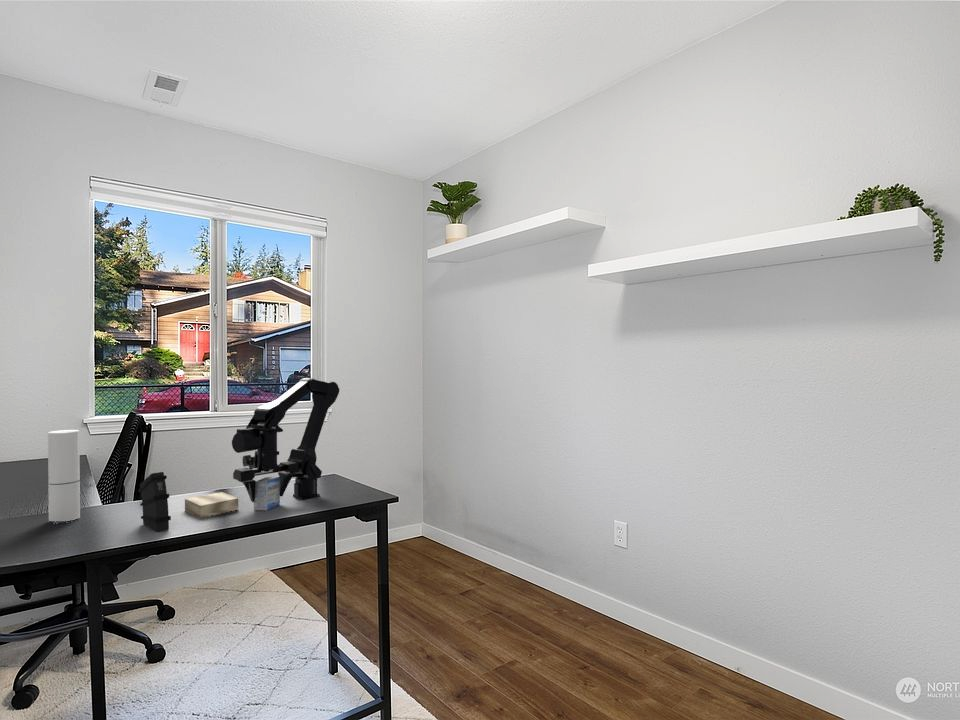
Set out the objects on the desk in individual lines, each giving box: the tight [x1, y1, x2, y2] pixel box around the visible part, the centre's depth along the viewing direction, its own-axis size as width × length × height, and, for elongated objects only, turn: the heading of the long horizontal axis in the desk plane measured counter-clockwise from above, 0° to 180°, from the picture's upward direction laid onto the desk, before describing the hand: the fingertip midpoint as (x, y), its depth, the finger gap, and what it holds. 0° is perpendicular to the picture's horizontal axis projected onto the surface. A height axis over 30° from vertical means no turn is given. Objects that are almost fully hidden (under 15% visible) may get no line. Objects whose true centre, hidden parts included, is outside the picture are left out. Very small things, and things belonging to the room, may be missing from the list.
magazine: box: [138, 471, 172, 533], centre depth 155 cm, size 4×13×15 cm, turn 48°
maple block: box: [184, 491, 239, 519], centre depth 170 cm, size 11×11×4 cm
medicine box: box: [253, 475, 281, 512], centre depth 174 cm, size 8×4×9 cm, turn 170°
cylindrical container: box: [47, 429, 81, 522], centre depth 161 cm, size 7×7×25 cm
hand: (267, 499), depth 174 cm, fingers closed on medicine box, 9 cm apart
